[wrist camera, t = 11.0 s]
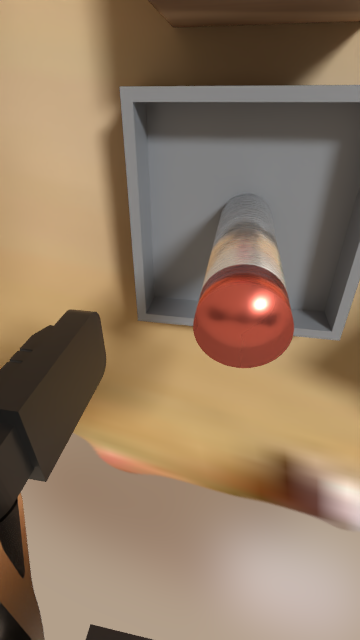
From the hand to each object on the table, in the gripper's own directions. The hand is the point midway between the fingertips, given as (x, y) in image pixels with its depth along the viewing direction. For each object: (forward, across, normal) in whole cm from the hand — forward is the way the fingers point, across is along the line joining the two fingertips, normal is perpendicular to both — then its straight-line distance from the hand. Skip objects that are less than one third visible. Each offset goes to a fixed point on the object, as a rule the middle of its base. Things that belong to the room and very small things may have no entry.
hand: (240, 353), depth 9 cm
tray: (+14, 0, 0) cm, 14 cm away
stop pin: (+13, 0, 0) cm, 13 cm away
